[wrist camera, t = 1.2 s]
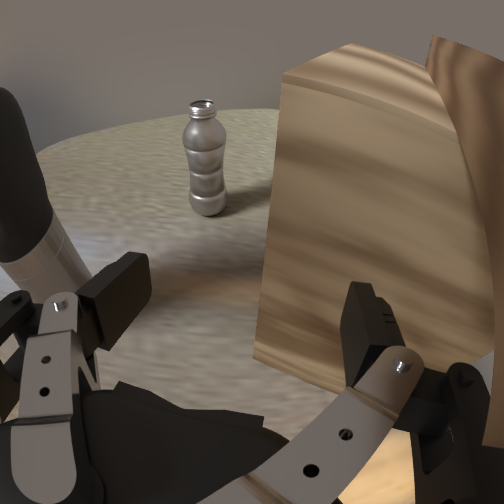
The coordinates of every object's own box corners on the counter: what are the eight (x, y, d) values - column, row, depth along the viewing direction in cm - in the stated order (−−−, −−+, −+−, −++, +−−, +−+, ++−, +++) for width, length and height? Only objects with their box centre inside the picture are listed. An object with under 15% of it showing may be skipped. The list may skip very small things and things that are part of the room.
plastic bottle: (197, 194, 53) (187, 95, 38) (231, 199, 53) (230, 97, 37) (185, 218, 49) (170, 112, 34) (223, 223, 49) (218, 113, 33)
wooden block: (379, 409, 30) (603, 246, 5) (252, 358, 34) (282, 73, 10) (407, 300, 40) (519, 118, 15) (304, 257, 45) (352, 42, 20)
